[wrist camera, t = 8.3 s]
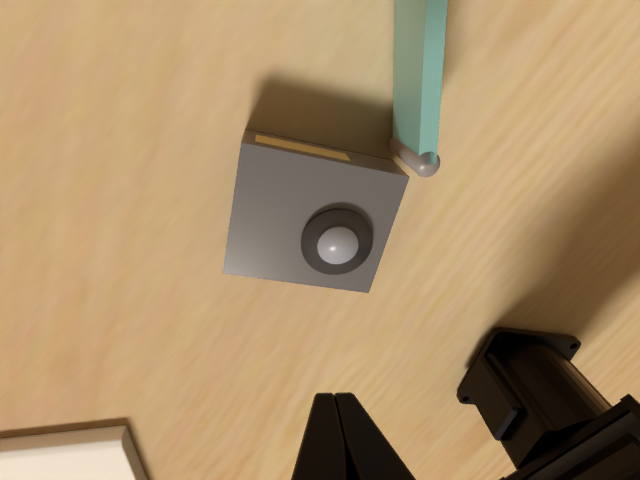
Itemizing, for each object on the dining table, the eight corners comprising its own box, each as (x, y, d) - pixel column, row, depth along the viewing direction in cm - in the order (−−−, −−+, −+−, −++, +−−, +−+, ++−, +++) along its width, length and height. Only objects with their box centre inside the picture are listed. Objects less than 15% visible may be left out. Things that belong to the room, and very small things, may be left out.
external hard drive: (155, 490, 29) (-22, 512, 27) (128, 418, 25) (-79, 440, 24) (149, 514, 27) (-38, 538, 26) (119, 441, 23) (-102, 466, 22)
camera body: (392, 160, 18) (413, 180, 15) (358, 266, 21) (370, 299, 18) (245, 128, 17) (240, 145, 14) (228, 246, 19) (221, 279, 17)
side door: (417, 151, 18) (448, 174, 15) (389, 154, 18) (414, 178, 15) (432, -197, 12) (486, -275, 9) (392, -194, 12) (432, -273, 9)
